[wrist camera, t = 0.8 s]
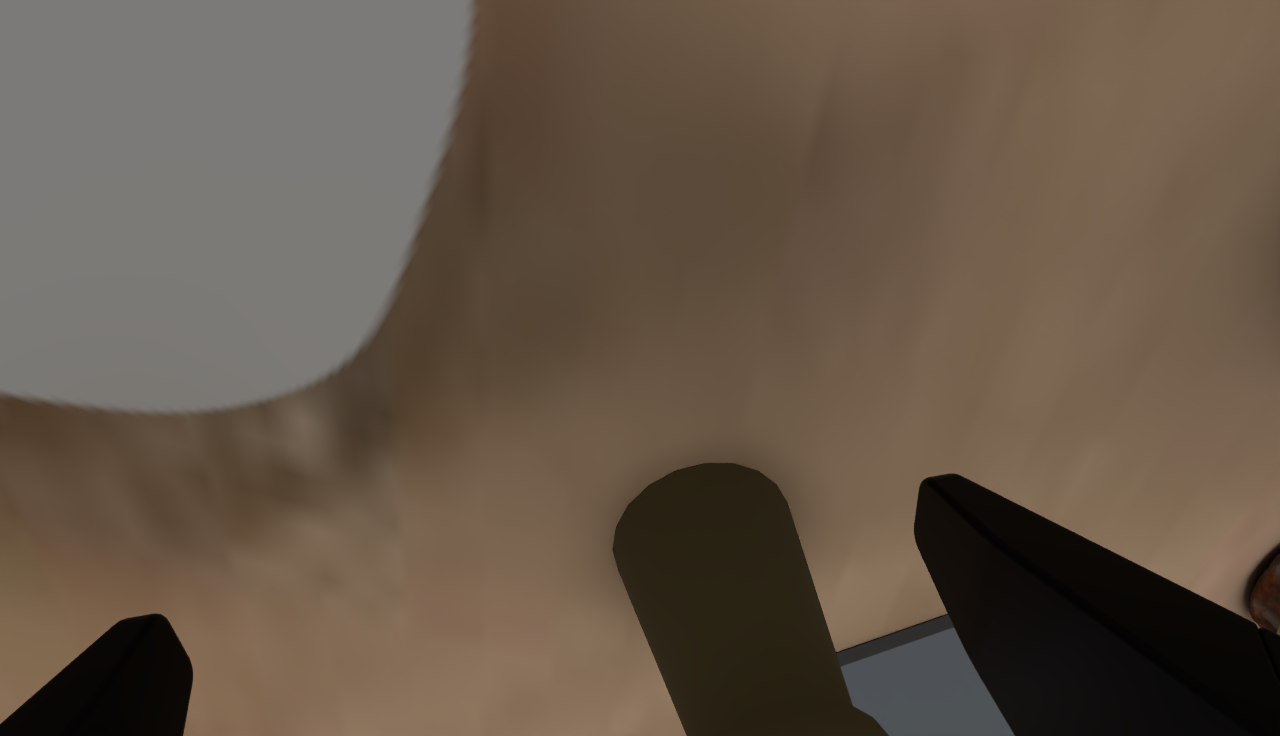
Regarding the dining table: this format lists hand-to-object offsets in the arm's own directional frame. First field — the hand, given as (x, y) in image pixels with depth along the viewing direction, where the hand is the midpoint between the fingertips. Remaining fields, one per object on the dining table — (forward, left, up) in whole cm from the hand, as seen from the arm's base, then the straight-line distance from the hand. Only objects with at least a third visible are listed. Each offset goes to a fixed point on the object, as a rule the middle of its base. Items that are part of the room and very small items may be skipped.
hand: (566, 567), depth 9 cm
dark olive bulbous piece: (-4, +11, -12) cm, 17 cm away
